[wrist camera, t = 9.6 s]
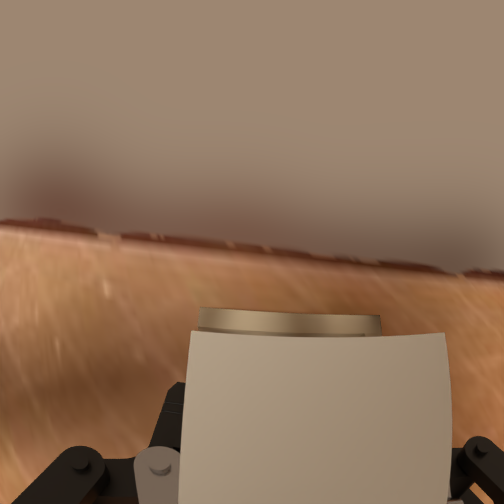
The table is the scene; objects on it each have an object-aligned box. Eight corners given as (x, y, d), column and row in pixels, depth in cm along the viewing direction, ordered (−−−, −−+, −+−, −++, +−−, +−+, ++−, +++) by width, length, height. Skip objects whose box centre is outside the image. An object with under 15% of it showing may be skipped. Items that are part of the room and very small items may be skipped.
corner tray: (189, 500, 15) (183, 511, 13) (203, 319, 24) (199, 306, 21) (365, 494, 16) (381, 502, 13) (365, 326, 24) (379, 315, 21)
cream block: (214, 478, 11) (178, 580, 2) (219, 385, 13) (191, 330, 5) (316, 478, 11) (437, 545, 2) (319, 388, 13) (444, 332, 5)
